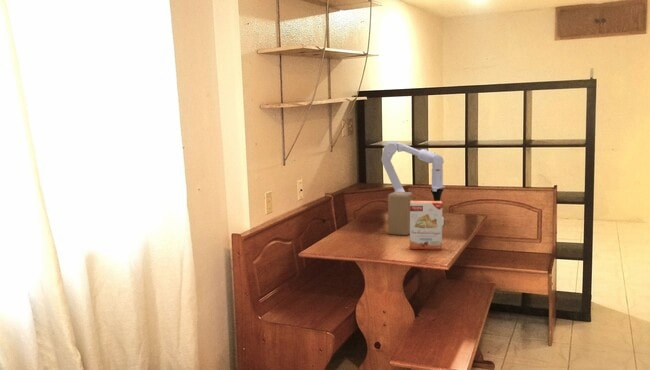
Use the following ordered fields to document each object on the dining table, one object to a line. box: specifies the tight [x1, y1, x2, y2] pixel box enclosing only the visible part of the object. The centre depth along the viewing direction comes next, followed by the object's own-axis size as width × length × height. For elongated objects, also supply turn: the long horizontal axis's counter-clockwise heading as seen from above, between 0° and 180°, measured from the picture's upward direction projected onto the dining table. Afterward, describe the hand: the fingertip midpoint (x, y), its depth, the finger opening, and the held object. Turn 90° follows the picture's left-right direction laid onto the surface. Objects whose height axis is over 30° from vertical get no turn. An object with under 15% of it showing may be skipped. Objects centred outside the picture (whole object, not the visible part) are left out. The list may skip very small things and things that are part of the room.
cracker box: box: [409, 200, 443, 251], centre depth 259 cm, size 14×6×21 cm, turn 82°
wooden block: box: [387, 191, 414, 237], centre depth 290 cm, size 10×10×20 cm
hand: (437, 203), depth 314 cm, fingers closed
